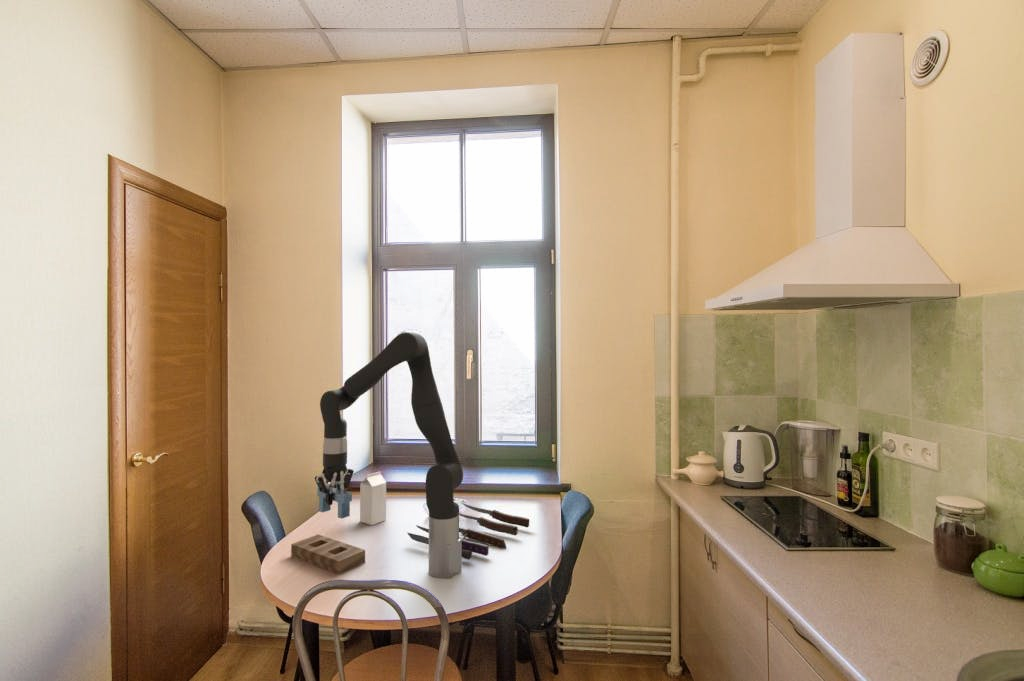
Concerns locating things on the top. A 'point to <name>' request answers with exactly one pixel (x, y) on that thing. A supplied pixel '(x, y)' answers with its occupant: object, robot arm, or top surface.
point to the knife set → (479, 536)
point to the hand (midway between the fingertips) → (334, 503)
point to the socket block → (328, 554)
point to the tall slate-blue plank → (340, 497)
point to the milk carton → (373, 499)
